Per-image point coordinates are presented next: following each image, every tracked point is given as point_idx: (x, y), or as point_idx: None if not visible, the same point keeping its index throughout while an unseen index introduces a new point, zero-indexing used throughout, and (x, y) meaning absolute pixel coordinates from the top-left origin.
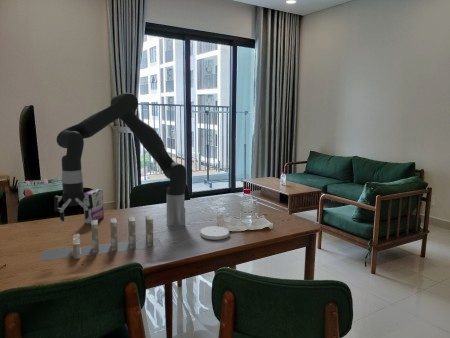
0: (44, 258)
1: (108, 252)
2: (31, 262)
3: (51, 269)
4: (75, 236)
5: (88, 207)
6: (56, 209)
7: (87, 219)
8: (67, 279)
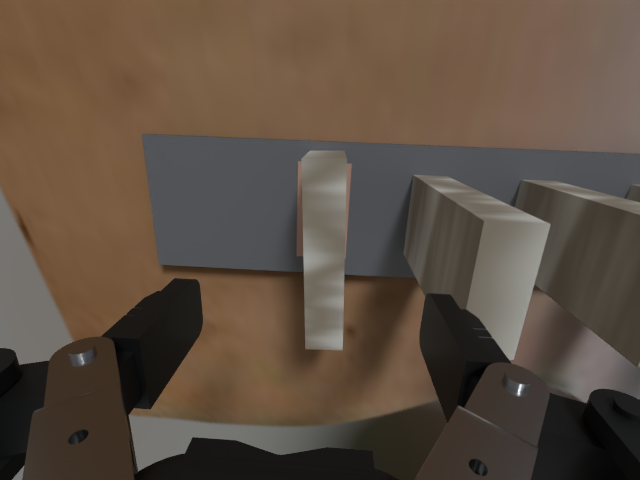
0: (177, 245)
1: None
2: (127, 237)
3: (228, 334)
4: (317, 214)
5: (540, 472)
6: (7, 462)
7: None
8: (294, 424)
